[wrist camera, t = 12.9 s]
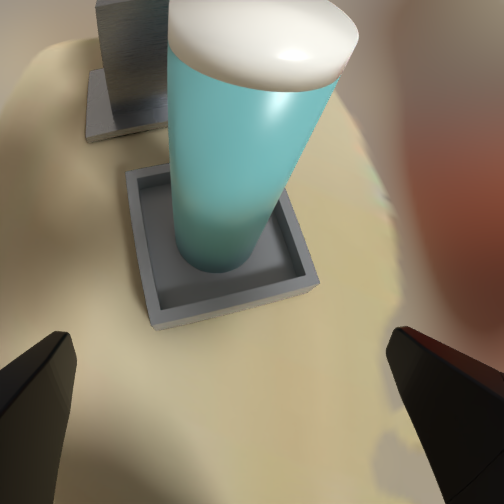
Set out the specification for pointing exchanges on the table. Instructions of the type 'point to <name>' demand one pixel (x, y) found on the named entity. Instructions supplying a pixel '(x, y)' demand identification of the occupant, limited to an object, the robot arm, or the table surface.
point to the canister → (243, 113)
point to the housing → (129, 69)
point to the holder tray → (203, 283)
